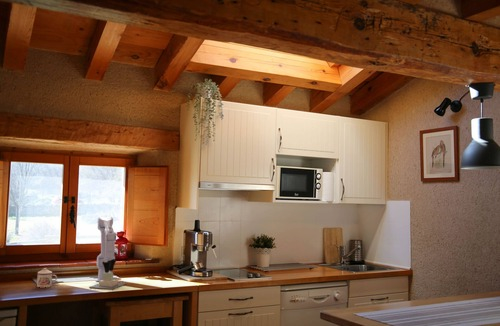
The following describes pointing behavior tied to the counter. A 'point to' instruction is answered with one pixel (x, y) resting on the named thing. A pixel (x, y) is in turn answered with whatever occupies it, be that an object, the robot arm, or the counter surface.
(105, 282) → the stacking base
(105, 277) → the sage cube
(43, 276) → the teacup with lid
